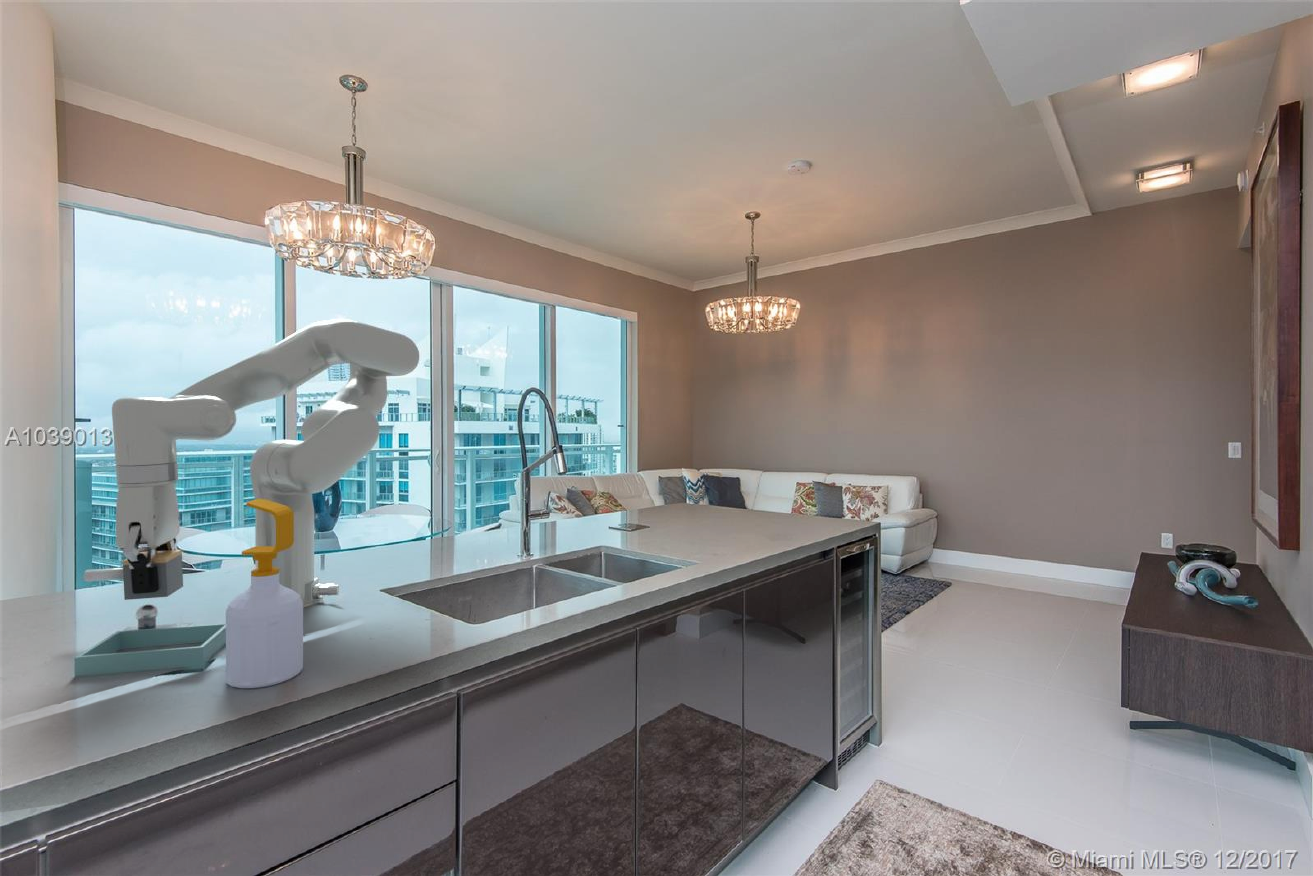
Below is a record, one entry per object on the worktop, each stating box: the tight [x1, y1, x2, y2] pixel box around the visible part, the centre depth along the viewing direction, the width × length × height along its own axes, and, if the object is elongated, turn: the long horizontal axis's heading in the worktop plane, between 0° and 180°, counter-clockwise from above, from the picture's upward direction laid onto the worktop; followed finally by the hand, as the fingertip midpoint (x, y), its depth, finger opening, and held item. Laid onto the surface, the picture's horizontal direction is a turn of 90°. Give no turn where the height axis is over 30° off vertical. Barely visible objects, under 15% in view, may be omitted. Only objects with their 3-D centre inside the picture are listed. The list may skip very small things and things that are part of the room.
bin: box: [73, 622, 226, 677], centre depth 89 cm, size 15×11×4 cm
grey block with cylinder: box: [82, 549, 184, 601], centre depth 97 cm, size 12×6×6 cm, turn 107°
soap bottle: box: [225, 499, 304, 689], centre depth 85 cm, size 9×9×25 cm
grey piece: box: [122, 603, 193, 631], centre depth 97 cm, size 9×9×6 cm
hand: (155, 585), depth 98 cm, fingers closed on grey block with cylinder, 5 cm apart
